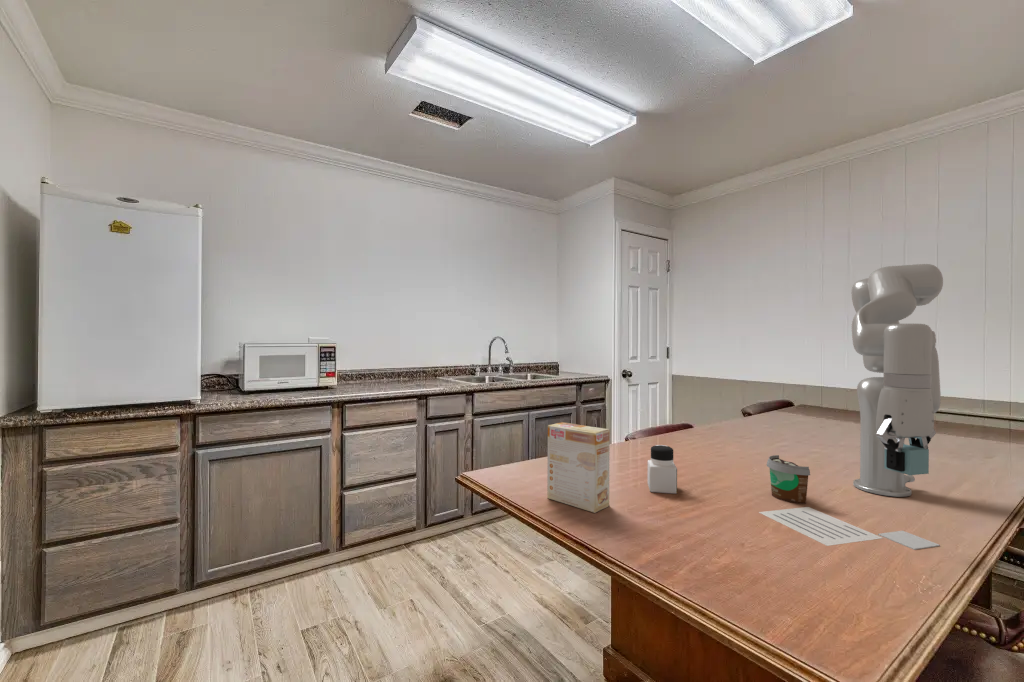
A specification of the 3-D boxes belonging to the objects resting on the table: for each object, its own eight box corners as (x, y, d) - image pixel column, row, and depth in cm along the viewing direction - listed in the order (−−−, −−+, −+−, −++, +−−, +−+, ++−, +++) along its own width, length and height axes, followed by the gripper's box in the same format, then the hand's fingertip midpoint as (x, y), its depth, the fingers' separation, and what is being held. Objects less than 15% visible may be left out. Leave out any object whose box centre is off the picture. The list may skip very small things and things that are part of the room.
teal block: (902, 466, 97) (902, 443, 97) (928, 473, 92) (928, 449, 92) (884, 468, 96) (884, 445, 96) (910, 475, 91) (910, 450, 91)
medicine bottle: (677, 494, 121) (677, 450, 121) (649, 492, 123) (650, 448, 123) (673, 485, 128) (673, 444, 128) (647, 484, 130) (647, 442, 130)
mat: (902, 532, 98) (902, 530, 98) (940, 546, 91) (940, 544, 91) (878, 535, 96) (878, 533, 96) (914, 550, 89) (914, 548, 89)
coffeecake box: (610, 506, 113) (610, 428, 113) (594, 514, 108) (595, 433, 107) (562, 491, 123) (562, 421, 123) (546, 498, 118) (546, 424, 118)
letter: (808, 507, 112) (808, 506, 112) (883, 538, 95) (883, 537, 95) (758, 513, 108) (758, 512, 108) (826, 546, 91) (826, 545, 91)
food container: (756, 490, 125) (756, 454, 124) (777, 490, 125) (777, 454, 125) (787, 507, 112) (787, 467, 112) (810, 506, 113) (810, 467, 113)
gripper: (917, 380, 99) (916, 461, 99) (856, 381, 95) (856, 466, 96) (958, 383, 92) (957, 471, 92) (894, 385, 88) (893, 477, 88)
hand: (905, 467), depth 94 cm, fingers closed on teal block, 5 cm apart
